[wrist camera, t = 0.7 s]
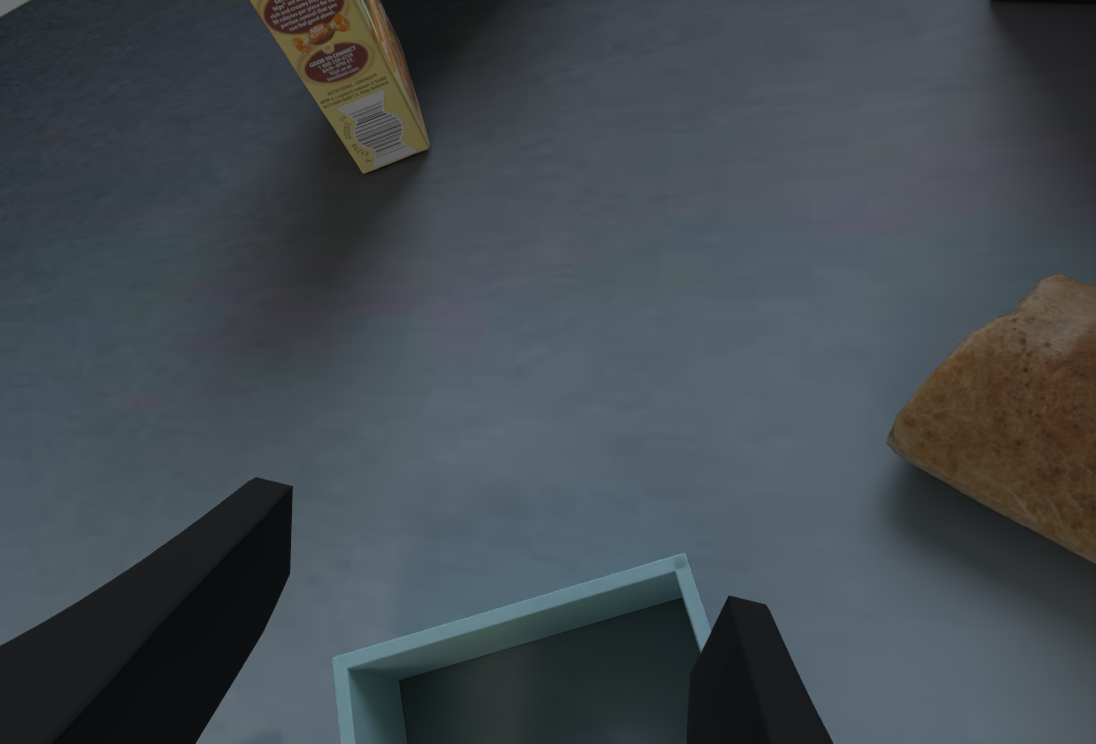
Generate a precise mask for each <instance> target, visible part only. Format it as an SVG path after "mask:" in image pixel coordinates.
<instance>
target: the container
mask: <svg viewBox="0 0 1096 744" xmlns="http://www.w3.org/2000/svg"><path fill="white" fill-rule="evenodd" d="M678 598H683V601H684V604H685V607H686V610H687V613H688V616H689V620H690V623H691V626H692V629H693V632H694V635H695V638H696V641H697V644H698V648H699V651H700V654H701V652H702V650H703V647H704V645H705V643H706V641H707V639H708V637H709V635H710V633H711V629H710V626H709V623H708V620H707V616H706V613H705V610H704V607H703V604H702V601H701V598H700V595H699V592H698V589H697V586H696V583H695V580H694V577H693V574H692V571H691V568H690V565H689V562H688V559H687V556H686V554H685V553H682V554H678V555H675V556H672V557H668V558H665V559H662V560H658V561H655V562H652V563H648V564H645V565H642V566H638V567H635V568H631V569H628V570H625V571H621V572H618V573H615V574H611V575H608V576H605V577H601V578H598V579H594V580H591V581H588V582H584V583H581V584H578V585H574V586H571V587H568V588H564V589H561V590H557V591H554V592H551V593H547V594H544V595H541V596H537V597H534V598H531V599H527V600H524V601H520V602H517V603H514V604H510V605H507V606H504V607H500V608H497V609H494V610H490V611H487V612H483V613H480V614H477V615H473V616H470V617H467V618H463V619H460V620H457V621H453V622H450V623H446V624H443V625H440V626H436V627H433V628H430V629H426V630H423V631H420V632H416V633H413V634H409V635H406V636H403V637H399V638H396V639H393V640H389V641H386V642H383V643H379V644H376V645H372V646H369V647H366V648H362V649H359V650H356V651H352V652H349V653H346V654H342V655H339V656H335V657H333V658H332V664H333V674H334V684H335V695H336V705H337V715H338V725H339V735H340V744H407V737H406V730H405V722H404V715H403V708H402V700H401V693H400V686H399V680H402V679H405V678H409V677H412V676H416V675H419V674H422V673H426V672H429V671H433V670H436V669H439V668H443V667H446V666H450V665H453V664H457V663H460V662H463V661H467V660H470V659H474V658H477V657H480V656H484V655H487V654H491V653H494V652H498V651H501V650H504V649H508V648H511V647H515V646H518V645H521V644H525V643H528V642H532V641H535V640H538V639H542V638H545V637H549V636H552V635H556V634H559V633H562V632H566V631H569V630H573V629H576V628H579V627H583V626H586V625H590V624H593V623H596V622H600V621H603V620H607V619H610V618H614V617H617V616H620V615H624V614H627V613H631V612H634V611H637V610H641V609H644V608H648V607H651V606H654V605H658V604H661V603H665V602H668V601H672V600H675V599H678Z"/></svg>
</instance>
